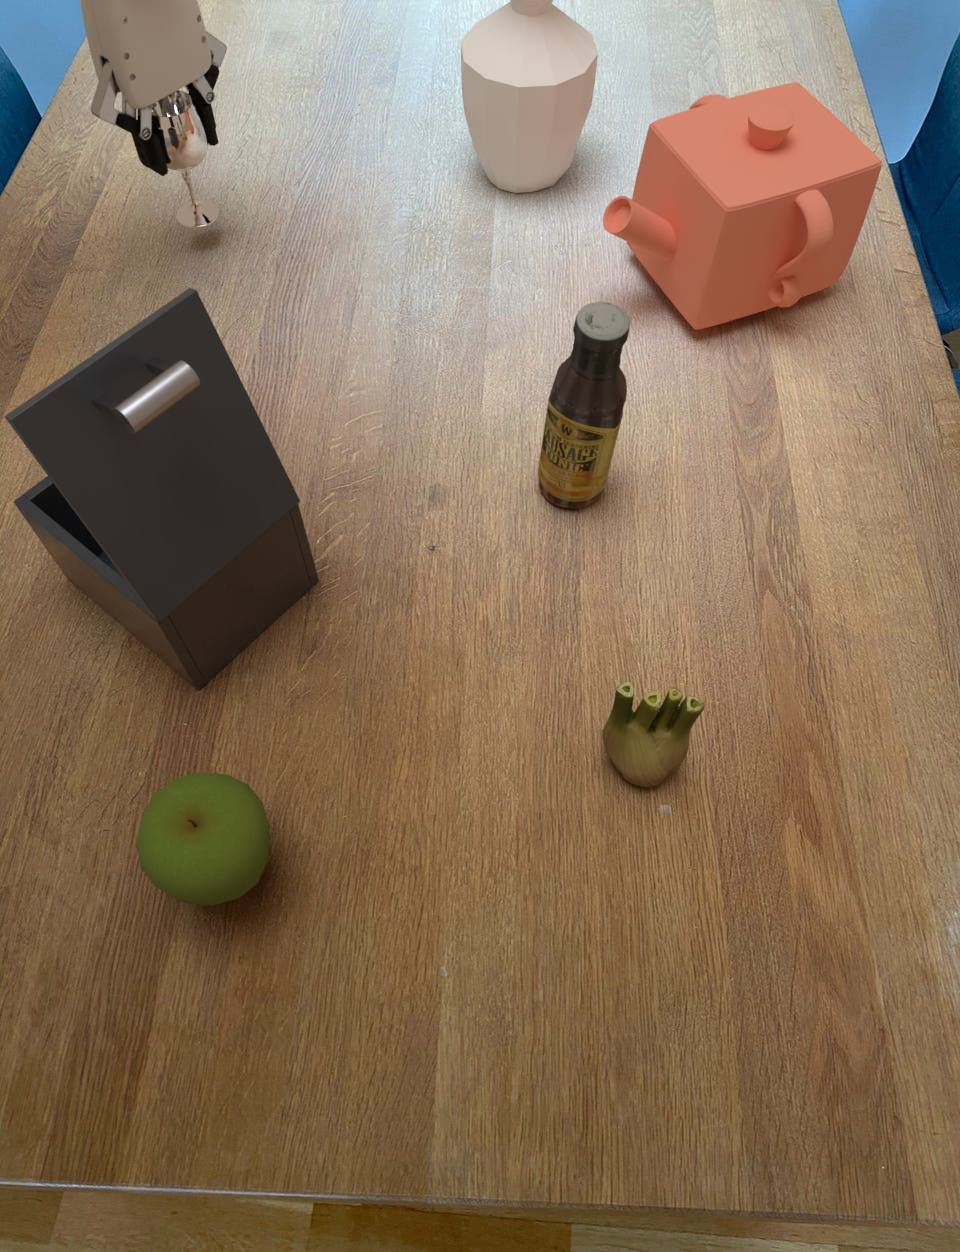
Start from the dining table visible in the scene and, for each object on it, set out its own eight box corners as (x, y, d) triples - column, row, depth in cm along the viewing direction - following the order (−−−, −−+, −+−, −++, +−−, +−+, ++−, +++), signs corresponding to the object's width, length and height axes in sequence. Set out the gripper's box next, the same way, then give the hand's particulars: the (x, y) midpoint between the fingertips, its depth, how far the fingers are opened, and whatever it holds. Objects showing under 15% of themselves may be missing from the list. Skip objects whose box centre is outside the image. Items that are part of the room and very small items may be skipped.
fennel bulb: (589, 759, 73) (608, 692, 62) (627, 715, 75) (651, 642, 64) (651, 806, 71) (680, 745, 60) (688, 760, 73) (723, 692, 62)
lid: (3, 416, 53) (46, 441, 50) (189, 287, 58) (238, 303, 55) (153, 618, 66) (194, 647, 63) (294, 497, 71) (338, 519, 68)
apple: (301, 905, 67) (271, 860, 57) (184, 946, 66) (132, 907, 56) (273, 796, 71) (240, 735, 61) (162, 832, 70) (109, 776, 60)
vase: (556, 125, 113) (574, -121, 92) (604, 196, 107) (636, -51, 85) (444, 150, 111) (436, -96, 89) (487, 224, 104) (489, -23, 83)
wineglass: (193, 239, 98) (162, 128, 87) (158, 214, 100) (124, 103, 89) (236, 214, 100) (211, 102, 90) (201, 190, 102) (173, 78, 92)
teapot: (646, 393, 92) (681, 236, 76) (544, 252, 102) (557, 88, 86) (859, 320, 97) (931, 159, 81) (741, 192, 107) (786, 28, 92)
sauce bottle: (523, 493, 86) (535, 323, 68) (560, 449, 88) (581, 275, 71) (585, 526, 84) (613, 361, 67) (620, 481, 86) (656, 310, 69)
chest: (67, 578, 81) (12, 501, 71) (188, 481, 86) (153, 397, 77) (198, 691, 76) (158, 623, 66) (319, 580, 81) (298, 503, 71)
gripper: (176, -99, 83) (220, 103, 99) (12, -26, 76) (88, 179, 92) (234, -71, 81) (270, 131, 96) (71, 7, 74) (138, 211, 89)
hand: (181, 152), depth 94 cm, fingers closed on wineglass, 5 cm apart
